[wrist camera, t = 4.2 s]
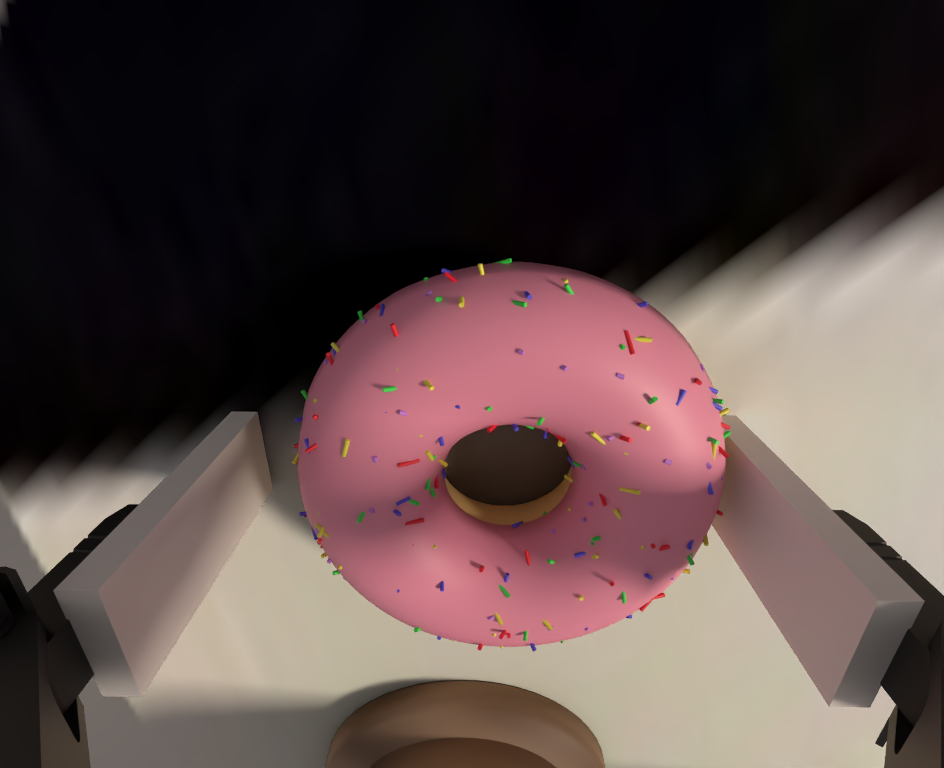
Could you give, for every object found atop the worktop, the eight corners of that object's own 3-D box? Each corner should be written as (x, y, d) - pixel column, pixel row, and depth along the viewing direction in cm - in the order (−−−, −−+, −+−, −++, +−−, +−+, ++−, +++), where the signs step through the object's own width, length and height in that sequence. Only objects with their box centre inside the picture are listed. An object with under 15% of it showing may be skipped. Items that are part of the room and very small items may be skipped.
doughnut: (524, 616, 18) (536, 739, 14) (254, 456, 15) (180, 554, 12) (770, 408, 14) (874, 497, 10) (471, 149, 12) (466, 144, 8)
